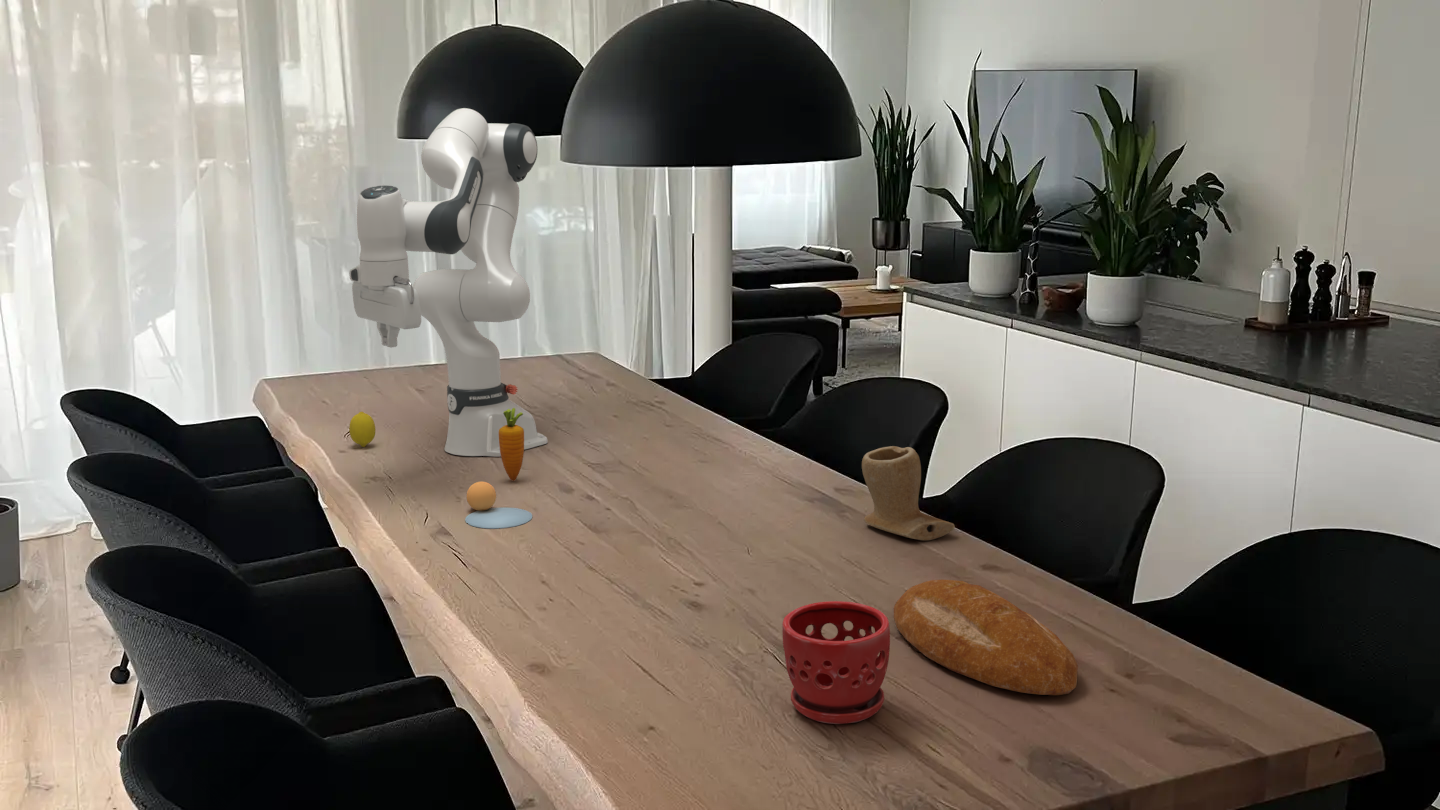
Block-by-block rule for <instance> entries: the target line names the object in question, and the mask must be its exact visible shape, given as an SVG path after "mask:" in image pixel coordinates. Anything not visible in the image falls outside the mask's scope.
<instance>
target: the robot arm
mask: <svg viewBox="0 0 1440 810" xmlns="http://www.w3.org/2000/svg"><path fill="white" fill-rule="evenodd" d="M420 156H421V157H420V158H421V165H422V168H423V170H424V173H426V175H427V176H428V177H429V178H430V179H431V181H432V182H434V183H435V184H436V185H437V186H439V187H442V188H444V189H448V190H452V192H451V194H450V197H449V198H447V199H444V200H439V201H438V200H437V201H425V200H424V201H423V200H422V201H420V200H419V201H418V200H417V201H416V200H414V201H413V200H408V199H405V198H404V197H402V195H401V191H400V189H399V188H398V187H397V186H394V185H377V186H371V187H368V188H365V189H363V190H362V191H360V193H359V194H358V198H357V205H356V207H357V208H356V228H357V230H356V231H357V232H356V233H357V239H358V241H359V244H360V245H359V246H360V252H359V257H358V258H359V259H358V260H359V264H358V265H356V266H355V267H353V268H351V269H349V274H348V275H349V279H350V281H352V284H351V285H352V286H351V288H352V289H351V292H352V302H353V309H354V312H355V314H356V316H357V317H358V318H361V319H365V320H369V321H372V322H375V323H376V327H377V330H378V332H379V335H380V338H381V339H380V340H381V345H382V346H385V347H388V348H391V349H392V348H396V347H398V336H399V333H400V330H401V329H403V330H412V329H417V328H419V327H421V324H422V317H423V318H424V319H425V320H426V321H428V322H429V323H430V325H431V326H432V327H433V328H434V329H435V331H436V333H437V335H438V336H439V338H440V340H441V342H442V345H443V347H444V351H445V352H444V353H445V357H446V365H447V377H448V378H447V379H448V385H447V386H446V396H447V409H448V412H449V414H448V415H449V416H448V429H447V435H446V440H445V441H446V442H445V445H444V448H443V450H444V451H445V452H446V453H449V454H451V455H456V456H463V457H482V456H483V457H495V458H496V457H501V453H500V445H499V429H500V428H501V427H503V426H505V425H507V420H506V417H505V416H504V414H503V412H504V411H507V410H508V409H510V410H511V411H512V408H515V415H514V417H516V415H517V414H518V413H520V412H522V413H523V415H522V416H520V417H519V418H518V419H517V421H516V423H515V425H518V426H520V427H522V428H523V430H524V451H525V450H528V449H532V448H536V447H538V446H539V447H540V446H543V445H545V444H548V437H547V436H545V435H544V434H542V433H540V432H537V431H538V430H537V425H536V421H535V418H534V416H533V415H532V414H531V412H529V411H528V410H526V409H525V408H523V407H522V406H520V405H518V403H515V402H514V401H512V400H511V399H510V398H509V394H510V395H516V394H517V393H518V391H519V390H518V387H517V386H516V385H513V384H511V383H510V384H505V383H503V382H502V380H501V359H500V358H501V356H500V350H499V349H498V346H497V345H496V344H495V343H494V342H493V341H492V340H491V339H489V338H487V337H485V336H484V335H482V334H481V332H480V331H479V330H478V329H477V327H476V324H475V322H479V323H480V322H483V323H484V322H485V323H502V322H509V321H510V322H511V321H515V320H519V319H521V318H522V317H523V316H524V315H525V313H526V312H527V310H528V308H529V306H530V301H531V292H530V288H529V285H528V283H527V282H526V279H525V278H524V277H523V276H522V275H521V274H519V272H517V270H515V268H514V265H513V264H512V260H511V249H512V248H511V247H512V244H513V243H512V242H513V237H514V233H515V230H516V229H515V228H516V225H517V220H518V215H519V206H520V187H519V185H518V183H520V182H521V181H524V180H525V178H526V177H527V175H528V173H529V172H530V171H531V170H532V168H533V167H534V165H535V163H536V161H537V158H538V141H537V138H536V136H535V133H534V132H533V130H532V129H531V128H530V127H529V126H528V125H525V124H521V123H515V122H512V123H498V122H497V123H495V122H494V123H492V122H491V123H488V122H487V120H486V119H485V117H484V116H483V115H482V114H481V113H479V112H478V111H476V110H474V109H471V108H469V107H468V108H466V107H463V108H457V109H454V110H453V111H452V112H450V113H449V114H448V115H447V116H445V118H443V119H442V120H441V122H440V123H439V124H437V126H436V127H435V128H434V130H433V131H431V133H430V135H429V136H428V138H427V139H426V141H425V143H424V144H423V147H422V150H421V155H420ZM460 251H461V252H462V253H463V255H464V256H466V258H467V259H469V260H471V261H472V262H473V263H476V264H475V267H473V268H471V269H461V268H460V269H458V268H457V269H456V268H440V269H433V270H430V271H425V272H422V273H420V274H419V275H418V276H417V278H416V279H415V280H414V282H413V284H412V283H411V280H410V275H409V274H410V270H409V258H408V257H409V255H408V253H407V252H415V253H416V252H419V253H420V252H421V253H423V252H424V253H425V252H427V253H436V254H444V255H455V254H457V253H458V252H460Z"/></svg>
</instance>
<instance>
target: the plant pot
mask: <svg viewBox="0 0 1440 810" xmlns="http://www.w3.org/2000/svg"><path fill="white" fill-rule="evenodd" d="M845 622H850V623H851V625H852V629H847V628H846V627H845ZM827 624H831V625H834V626H835V628H836V629H837V633H836V635H835V636H834V637H832V638H827V637H825V636H824V635H823V634H822V630H823V628H824V626H825V625H827ZM781 625H782V626H781V627H782V634H781V635H782V647H783V651H784V657H785V666H786V671H787V674H788V678H789V680H790V682H791V684H792V687H793V688H792V689H791V692H790V701H791V703H792V705H793V706H794V708H795V709H796V710H797V711H798V712H799V713H800V714H802V715H803V716H805V717H807V718H809V719H811V720H813V721H817V722H820V723H823V724H832V725H833V724H835V725H843V724H845V725H846V724H851V723H853V724H855V723H860V722H861V721H863V720H867V719H868V718H870V717H872V716H874V715H875V714H876V713H877V712H879V710H880V709H881V708H882V707H883V706H884V705H883V704H884V702H885V692H884V690H883V689H882V687H881V686H882V684H883V682H884V680H885V677H886V673H887V670H888V665H889V658H890V649H891V648H890V647H891V630H890V629H891V628H890V622H889V619H888V617H887V615H885V614H884V613H883V611H881V610H879V609H877V608H875V607H872V606H870V605H867V604H863V603H860V602H859V603H858V602H852V601H842V600H841V601H839V600H838V601H837V600H836V601H834V600H831V601H820V602H812V603H809V604H805V605H802V606H800V607H798V608H795V609H793V610H792V611H790V612H788V614H786V615H785V616H784V618H783V620H782V624H781ZM809 626H812V631H811V632H810V633H807V628H808V627H809ZM872 628H873V630H874V632H873V631H872ZM860 630H863V632H864V633H865V634H864V635H862V634H861V633H860ZM847 637H851V638H852V639H849V640H845V639H846V638H847Z"/></svg>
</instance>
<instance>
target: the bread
mask: <svg viewBox="0 0 1440 810" xmlns="http://www.w3.org/2000/svg"><path fill="white" fill-rule="evenodd" d="M893 620H894V624H895V626H896V629H897V630H898V631H899V632H900V634H901V635H902V636H903V638H904V639H905V640H907V642H909V643H910V644H911V645H912V646H914V648H915V649H917V650H918V651H919V652H920V653H921V654H923V656H925V657H927V658H928V659H930V660H931V661H933V662H935V663H937V664H938V665H941V666H942V667H944V668H946V669H947V670H949V671H952V672H954V673H957V674H960V675H963V676H965V677H968V678H971V679H973V680H976V681H978V682H981V683H983V684H986V685H988V686H991V687H996V688H999V689H1003V690H1004V689H1005V690H1009V691H1013V692H1018V693H1022V694H1032V695H1042V696H1043V695H1044V696H1047V695H1048V696H1062V695H1067V694H1071V692H1072V691H1073V690H1075V689H1076V687H1077V681H1078V673H1079V672H1078V671H1079V665H1078V663H1077V660H1076V658H1075V656H1074V654H1073V652H1072V651H1071V650H1070V648H1068V647H1067V645H1065V643H1064V642H1063V641H1062V640H1061V639H1060V638H1059V637H1058V636H1057V634H1055V633H1054V632H1053V631H1052V630H1051V629H1049V628H1048V627H1047V626H1046V625H1044V624H1043V623H1042V622H1041V621H1039V620H1037V619H1036V618H1035V617H1034V616H1033V615H1032V614H1031V613H1029V612H1027V611H1025V610H1022V609H1021V608H1020V607H1017V605H1015V604H1013V603H1012V602H1010V601H1009V600H1007V599H1005V598H1004V597H1002V596H1000V595H999V594H997V593H995V592H993V591H991V590H989V589H987V588H985V587H983V586H981V585H980V584H973V583H968V582H966V581H963V580H955V579H931V580H926V581H923V582H921V583H918V584H916V585H915V584H914V585H913V586H910V587H909V588H908V589H907V590H905V592H904V593H903V594H902V595H901V596H900V597H899V598H898V600H897V601H895V604H894V606H893Z"/></svg>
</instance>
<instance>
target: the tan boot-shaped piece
mask: <svg viewBox="0 0 1440 810" xmlns="http://www.w3.org/2000/svg"><path fill="white" fill-rule="evenodd" d="M861 460H862V461H861V469H862V471H861V472H862V475H863V478H864V479H863V480H864V481H865V484H866V487H867V489H868V491H869V494H870V497H871V499H872V502H873V507H874V509H873V512H871V513H869V514H867V515H865V516H864V519H863V521H864V522H865V523H866V524H867V525H868V526H871V527H873V528H876V529H879V530H882V531H885V532H888V533H891V534H894V535H898V536H900V537H904V538H909V539H914V540H918V541H931V540H935V539H938V538H941V537H943V536H946V535H947V534H950V533H951V532H952V531H954V530H955V527H956V526H955V524H954V523H953V522H949V521H946V520H943V519H941V518H938V517H935V516H932V515H929V514H926V513H924V512H922V511H920V508H919V495H920V490H921V489H920V488H921V481H922V465H921V460H920V456H919V454H918V453H917V452H916V450H915V449H914V448H912V447H911V446H910V447H909V446H907V447H899V446H895V445H892V446H891V445H890V446H883V447H879V448H877V449H874V450H871V451H868V452H866V453H865V454H864V455H863V458H862V459H861Z"/></svg>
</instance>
